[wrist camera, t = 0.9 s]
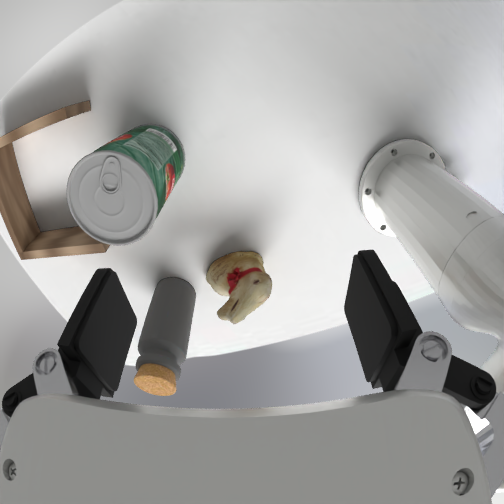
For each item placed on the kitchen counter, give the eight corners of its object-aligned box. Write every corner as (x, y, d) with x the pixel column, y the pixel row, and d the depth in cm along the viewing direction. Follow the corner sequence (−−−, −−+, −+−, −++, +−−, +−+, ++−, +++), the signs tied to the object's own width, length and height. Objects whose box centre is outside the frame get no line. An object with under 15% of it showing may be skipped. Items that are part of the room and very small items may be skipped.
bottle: (150, 278, 37) (119, 371, 25) (190, 274, 37) (170, 373, 25) (163, 308, 40) (141, 397, 28) (200, 305, 40) (188, 399, 28)
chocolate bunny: (265, 283, 38) (271, 343, 30) (206, 281, 38) (198, 341, 29) (269, 249, 35) (276, 308, 27) (205, 247, 34) (194, 306, 26)
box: (89, 100, 23) (64, 107, 19) (120, 229, 33) (105, 252, 28) (5, 136, 23) (-19, 148, 19) (38, 239, 33) (21, 259, 29)
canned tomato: (177, 199, 31) (151, 256, 22) (114, 184, 29) (67, 235, 20) (192, 131, 26) (165, 162, 17) (122, 118, 25) (67, 144, 16)
